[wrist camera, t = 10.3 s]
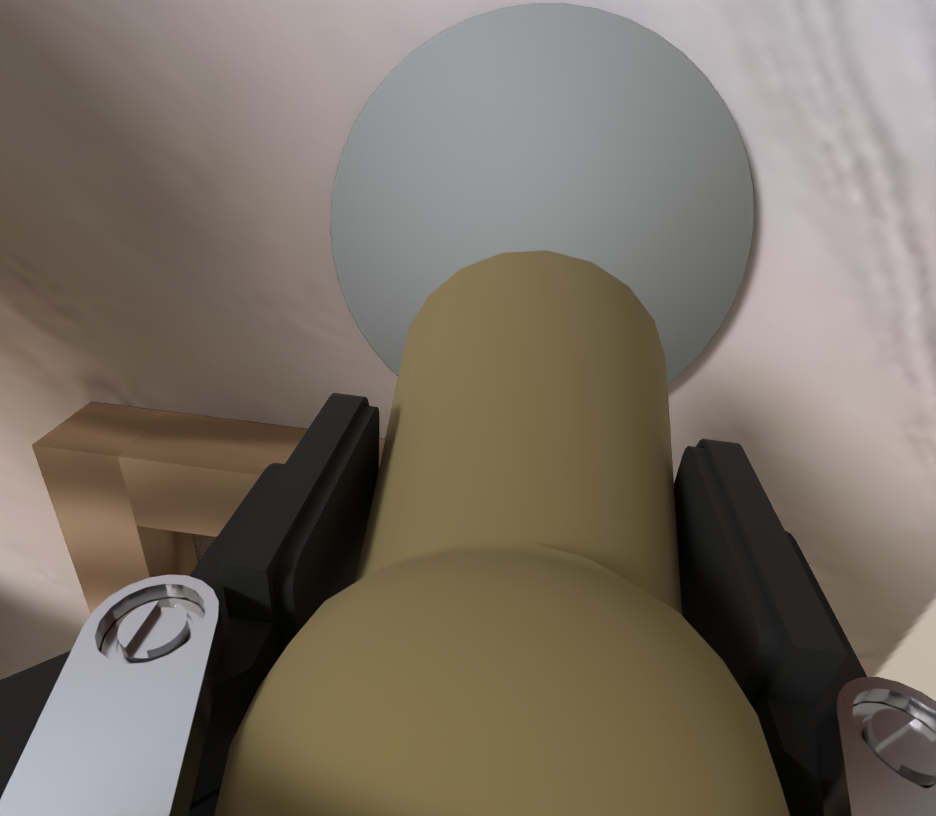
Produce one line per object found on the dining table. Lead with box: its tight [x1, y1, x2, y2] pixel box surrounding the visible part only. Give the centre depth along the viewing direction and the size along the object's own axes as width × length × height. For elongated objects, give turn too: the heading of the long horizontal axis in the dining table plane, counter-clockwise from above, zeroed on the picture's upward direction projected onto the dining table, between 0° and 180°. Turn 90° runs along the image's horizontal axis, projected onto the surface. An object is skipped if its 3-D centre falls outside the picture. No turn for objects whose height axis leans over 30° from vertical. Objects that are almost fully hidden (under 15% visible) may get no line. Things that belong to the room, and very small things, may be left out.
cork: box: [215, 250, 790, 816], centre depth 9 cm, size 6×6×11 cm
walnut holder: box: [32, 402, 385, 614], centre depth 32 cm, size 16×16×4 cm
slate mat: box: [331, 4, 754, 384], centre depth 23 cm, size 16×16×1 cm
